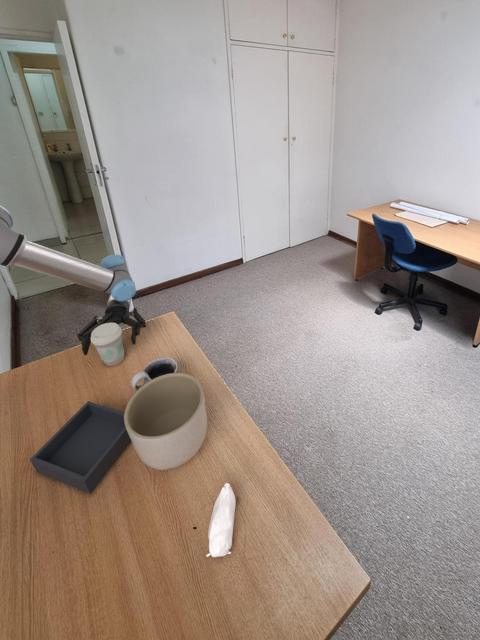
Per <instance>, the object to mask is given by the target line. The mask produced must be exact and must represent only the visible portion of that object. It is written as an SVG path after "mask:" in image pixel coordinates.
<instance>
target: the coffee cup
mask: <svg viewBox="0 0 480 640" xmlns="http://www.w3.org/2000/svg"><path fill="white" fill-rule="evenodd" d="M122 333H123V329H122V328H121V326H120V325H119V324H116V323H105V324H102V325H100V326H98V327H97V328H95V329H94V330H93V331H92V333H91V344H92V345H94V347H95V349H96V351H97V353H98V354H99V356H100V358H101V360H102V361H103V363H104V365H105V366H108V367H113V366H117V365H119V364H120V363H121V362H123V361H124V359H125V348H124V344H123V343H124V342H123V335H122Z"/></svg>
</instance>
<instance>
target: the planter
mask: <svg viewBox="0 0 480 640" xmlns="http://www.w3.org/2000/svg"><path fill="white" fill-rule="evenodd" d="M142 385H143V384H142ZM206 405H207V404H206V398H205V392H204V388H203V385H202V383H201V382H200V380H198V378H196V377H195V376H193V375H191V374H188V373H184V372H178V373H170V374H165V375H162V376H159V377H157V378H155V379H153V380H151V381H149V382H147V383H146V384H145V385H143V386H142V387H141V388H140V389H138V390H137V391H136V390H135V392H134V393H133V395H132V396H131V397H130V399H129V400H128V402H127V404H126V406H125V409H124V423H125V426H126V429H127V432H128V434H129V436H130V439H131V443H132V446H133V448H134V450H135V452H136V454H137V456H138V457H139V459H140V460H141V462H142V463H144V464H145V465H146V466H147V467H149V468H151V469H153V470H158V471H166V470H167V471H169V470H173V469H176V468H178V467H181V466H183V465H184V464H187V462H189V461H190V460H191V459H193V457H194V456H195V455H196V454H197V453H198V452H199V450H200V449H201V447H202V446H203V443H204V442H205V439H206V435H207V432H208V411H207V406H206Z"/></svg>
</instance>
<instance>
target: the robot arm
mask: <svg viewBox="0 0 480 640" xmlns="http://www.w3.org/2000/svg"><path fill="white" fill-rule="evenodd" d="M13 226H14V220H13V217H12V215H11V213H10V212H9V210H7V208H5V207H4V206H2V205H0V266H3V267H7V268H8V267H10V266H16V267H20V268H23V269H27V270H30V271H32V272H37V273H40V274H43V275H46V276H50V277H53V278H57V279H59V280H63V281H67V282H69V283H73V284H76V285H80V286H83V287H86V288H90V289H93V290H97V291H99V292H102V293H106V294H109V296H108V300H107V303H106V306H105V311H104V314H103V315H102V316H98V315H94V316H93V318H92V320H90V322H89V323H87V325H85V326H84V327H83V328H82V329H81V330H80V331H79V332H78V333H76V336H77V339H78V341H79V342H80V344H81V346H82V347H81V350H82V353H83V355H84V356H88V354H89V350H90V347H91V344H92V342H91V333H92V331H93V330H94V329H95V328H97V327H98V326H100V325H102V324H105V323H116V324H117V325H121V324H123V325H124V326H125V325H127V326H129V327H130V328H131V334H130V340H131V344H132V345H133V346H134V345H136V341H137V336H140V334H141V329H142V328H143V329H145V328H147V322H146V320H145V318H144V317H142V315H141V314H140V313H139V312H138V309H137V307H135V308H133V309H132V310H131V311H130V307H131V302H132V298H133V297H134V296H135V295H136V292H137V287H136V283H135V281H134V280H133V277H132V276H131V274H130V271H129V270H128V268H127V265H126V261H125V258H124V256H123V255H121V254H111V255H108V256H105V257H104V258H102V260H101V266H100V265H98V264H95V263H91V262H89V261H86V260H83V259H81V258H77V257H75V256H72V255H69V254H67V253H65V252H61V251H58V250H55V249H52V248H50V247H47V246H44V245H41V244H38V243H35V242H33V241H29V240H28V239H27V236H26V235H24V234H21V233H18V232H17V231H14V230H13V229H12V228H13ZM131 317H132V318H131ZM133 318H134V319H133Z"/></svg>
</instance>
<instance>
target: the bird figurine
mask: <svg viewBox="0 0 480 640" xmlns="http://www.w3.org/2000/svg"><path fill="white" fill-rule="evenodd" d="M236 502H237V500H236V496H235V493H234V491H233V488H232V486H231V484H230V483H228V482H226V483H225V484H224V485H223V486H222V488H221V489H220V492H219V494H218V496H217V498H216V500H215V502H214V506H213V509H212V513H211V516H210V520H209V525H208V532H207V539H208V550H209V552H208V553H207V554H206V555H205V557H206V558H208V557H210V556H211V557H212V558H219V557H225V556H226V555H231V554H232V552H231V551H230V549H231V548H232V545H233V535H234V523H235V511H236Z"/></svg>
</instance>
